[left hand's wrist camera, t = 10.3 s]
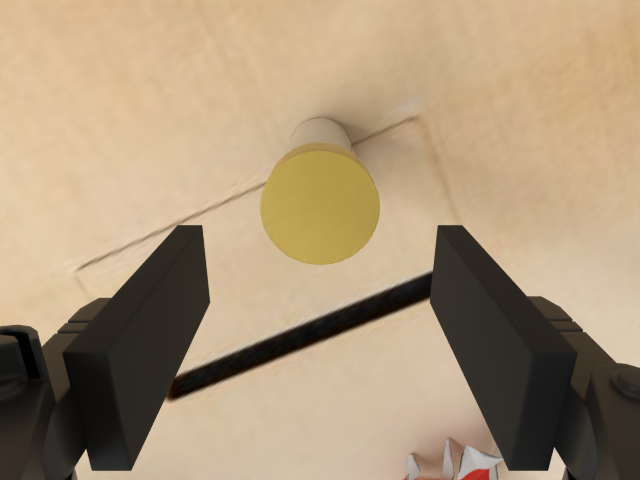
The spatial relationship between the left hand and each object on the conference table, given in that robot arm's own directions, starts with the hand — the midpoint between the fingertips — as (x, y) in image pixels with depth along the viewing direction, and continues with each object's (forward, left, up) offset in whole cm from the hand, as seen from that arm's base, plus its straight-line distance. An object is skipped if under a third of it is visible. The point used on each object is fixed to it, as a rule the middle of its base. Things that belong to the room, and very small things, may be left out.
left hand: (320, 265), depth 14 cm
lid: (0, 0, -6) cm, 6 cm away
